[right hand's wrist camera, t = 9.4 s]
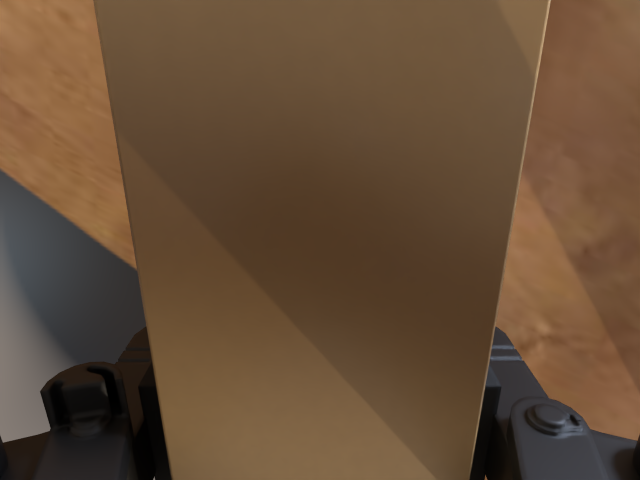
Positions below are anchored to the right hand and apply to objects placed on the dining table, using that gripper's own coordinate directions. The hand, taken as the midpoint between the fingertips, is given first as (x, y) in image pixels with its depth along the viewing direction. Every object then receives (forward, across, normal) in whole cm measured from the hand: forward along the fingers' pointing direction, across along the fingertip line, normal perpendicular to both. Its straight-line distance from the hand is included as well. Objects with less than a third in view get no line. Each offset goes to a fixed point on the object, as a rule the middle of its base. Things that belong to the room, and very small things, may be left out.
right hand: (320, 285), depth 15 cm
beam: (+1, 0, -29) cm, 29 cm away
